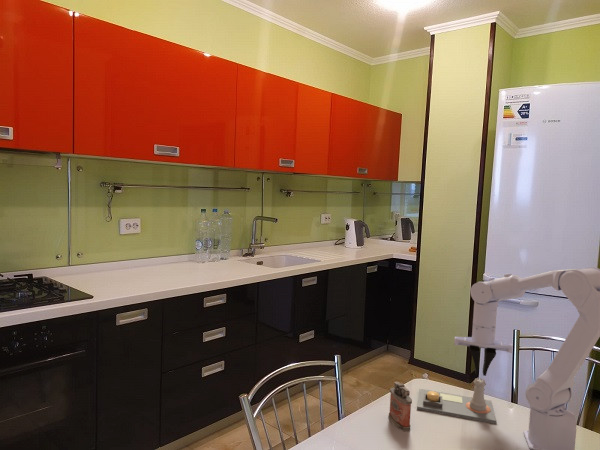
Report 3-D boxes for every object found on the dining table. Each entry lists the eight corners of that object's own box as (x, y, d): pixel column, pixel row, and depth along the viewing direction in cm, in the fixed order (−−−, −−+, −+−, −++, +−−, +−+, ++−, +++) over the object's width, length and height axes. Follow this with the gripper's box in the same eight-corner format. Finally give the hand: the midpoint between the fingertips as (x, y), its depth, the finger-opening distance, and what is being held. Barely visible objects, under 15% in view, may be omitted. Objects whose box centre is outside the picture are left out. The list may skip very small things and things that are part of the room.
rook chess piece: (488, 412, 118) (491, 384, 117) (471, 411, 118) (473, 382, 118) (483, 404, 122) (485, 377, 122) (467, 403, 123) (469, 375, 122)
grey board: (491, 403, 125) (491, 396, 125) (496, 423, 114) (496, 416, 114) (419, 391, 131) (419, 384, 131) (416, 409, 120) (417, 402, 120)
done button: (438, 397, 124) (439, 392, 123) (438, 402, 120) (439, 397, 120) (427, 395, 125) (427, 390, 124) (426, 400, 121) (427, 395, 121)
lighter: (385, 415, 116) (387, 378, 115) (396, 414, 117) (399, 377, 116) (401, 431, 108) (403, 392, 108) (413, 429, 109) (415, 391, 109)
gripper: (511, 324, 121) (507, 372, 122) (455, 318, 125) (452, 364, 126) (515, 331, 114) (511, 382, 115) (456, 324, 118) (452, 373, 119)
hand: (480, 373), depth 120 cm, fingers closed
